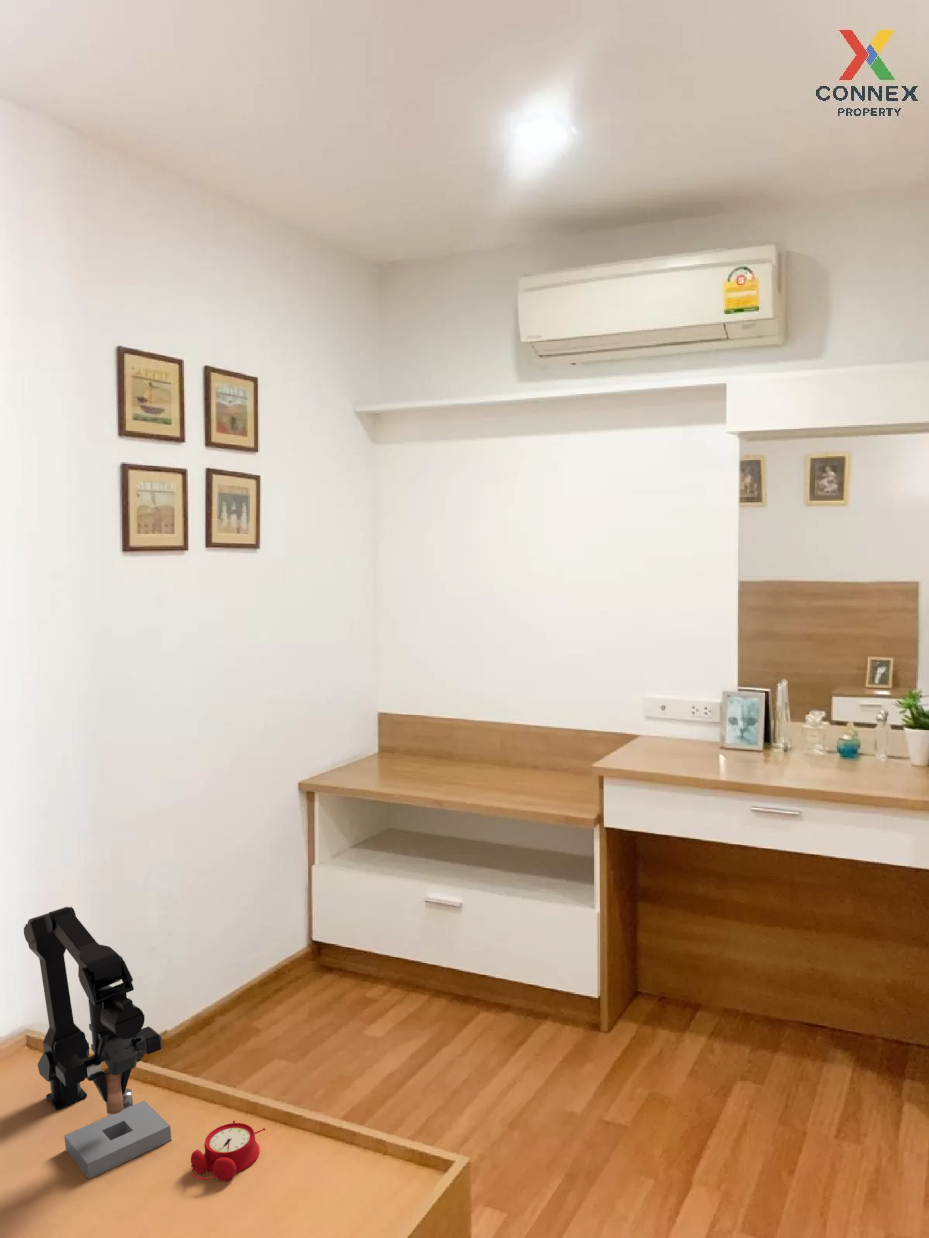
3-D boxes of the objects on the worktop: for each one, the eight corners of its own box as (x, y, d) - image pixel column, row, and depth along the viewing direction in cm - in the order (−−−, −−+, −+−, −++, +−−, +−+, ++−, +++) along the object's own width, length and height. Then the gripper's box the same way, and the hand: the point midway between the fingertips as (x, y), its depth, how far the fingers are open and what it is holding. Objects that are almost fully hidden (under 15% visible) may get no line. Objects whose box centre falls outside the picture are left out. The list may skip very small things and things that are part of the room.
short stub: (115, 1111, 205) (114, 1092, 205) (130, 1105, 207) (128, 1086, 207) (121, 1117, 203) (119, 1098, 202) (135, 1111, 205) (134, 1092, 204)
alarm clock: (272, 1125, 192) (223, 1155, 178) (270, 1159, 191) (221, 1192, 177) (228, 1114, 196) (176, 1142, 182) (226, 1148, 195) (174, 1179, 182)
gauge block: (65, 1149, 193) (64, 1135, 193) (145, 1113, 204) (144, 1100, 203) (89, 1178, 184) (87, 1163, 184) (171, 1139, 194) (170, 1125, 194)
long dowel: (104, 1109, 193) (100, 1070, 192) (119, 1102, 195) (116, 1063, 194) (110, 1116, 191) (106, 1076, 190) (125, 1109, 193) (122, 1069, 192)
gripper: (72, 1054, 179) (80, 1137, 181) (171, 1016, 191) (178, 1093, 193) (50, 1032, 187) (58, 1111, 189) (147, 997, 200) (153, 1071, 201)
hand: (113, 1097), depth 193 cm, fingers closed on long dowel, 3 cm apart
